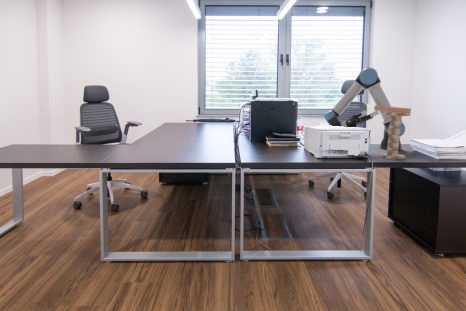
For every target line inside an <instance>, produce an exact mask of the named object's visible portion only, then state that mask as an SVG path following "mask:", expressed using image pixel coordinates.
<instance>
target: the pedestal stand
mask: <svg viewBox="0 0 466 311" xmlns="http://www.w3.org/2000/svg"><path fill="white" fill-rule="evenodd" d="M383 115H391V117H390V126H389V136H388V145H387V149H386V152H384V153H383V152H382V153H378V158H382V159H388V160H394V161H396V160H405V159H406V155H405V154H399V150H398V148H399V139H400V140H401V136H400V130H401V121H402V122H403V117H410V116H411V113H399V112H388V111H383Z"/></svg>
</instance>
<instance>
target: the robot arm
mask: <svg viewBox="0 0 466 311" xmlns="http://www.w3.org/2000/svg"><path fill="white" fill-rule="evenodd" d="M381 83H382V81H381V79H380V77H379V76H378V72H377V70H376V69H375V68H373V67H365V68H363V69H362V70H360V72H359V74H358V76H357V77H356V78H355V80H354V82H353V84H352V85H351V86H350V88H349V89H348V90H347V91H346V92H345V93H344V95H342V97H341V98H340V99H339V101H338V102H337V103H336V105H334V107H333V108H332V109H331V110H329V111H327V112H326V113H325V114H323V118H324V119H325V121H326V123H328V125H329V126H330V125H332V126H344V127H355V128H356V127H357V125H358V124H362V123H364V122H366V121H369V120H371V119H374V117H375V116H377V115H379V114H380V115H381V118H382V119H383V122H382V124H383V126H384V128H383V137H382V140H381V142H380V145H379V148H380V149H382V150H387V145H388V136H389V126H390V117H391V115H383V111H378V110H373V112H371V113H370V112H369V114H367V113H368V112H367V111H366V110H365V109H364V110H363V111H361V112H359V113H358V114H353V115H352V116H351V117H349V118H347V119H346V120H344V121H343V122H341V121H340V120H339V117H340V116H341V115H342V114H343V112H344V111H346V109H347V108H348V107H349V106H350V105H351V103H352V102H353V101H354V100H355V99H356V98H357V96H358V95H359V94H360V93H361V92H362V91H363V90H367V91H368V92H369V95H370V96H371V98H372V100H373V101H374V102H373V103H374V104H375V106H388V107H392V105H391V103H390V102H389V99H388V98H387V96H386V93H385V91H384V90H383V88H382V86H381ZM405 132H406V125H405V123H404V122H403V120H402V121H401V130H400V137H402V136H403V135H404V134H405ZM401 142H402V141H401V138H400V139H399V148H398V151H401V150H402V143H401Z"/></svg>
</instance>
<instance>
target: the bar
mask: <svg viewBox="0 0 466 311" xmlns="http://www.w3.org/2000/svg"><path fill="white" fill-rule="evenodd" d="M376 110H378V112H379V111H388V112H399V113H410V114H412V108H409V107H401V106H400V107H399V106H398V107H397V106H391V107H388V106H376V105H374V110H373V111H376Z"/></svg>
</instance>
